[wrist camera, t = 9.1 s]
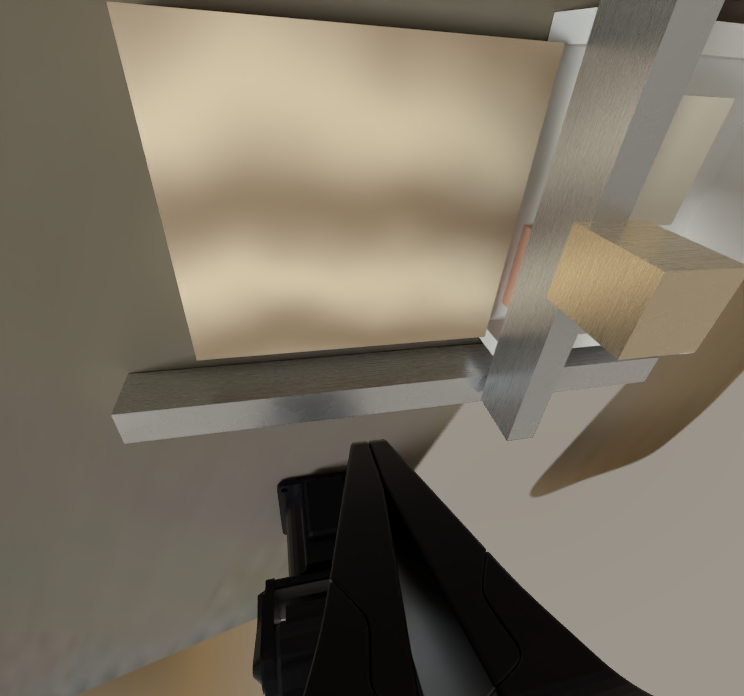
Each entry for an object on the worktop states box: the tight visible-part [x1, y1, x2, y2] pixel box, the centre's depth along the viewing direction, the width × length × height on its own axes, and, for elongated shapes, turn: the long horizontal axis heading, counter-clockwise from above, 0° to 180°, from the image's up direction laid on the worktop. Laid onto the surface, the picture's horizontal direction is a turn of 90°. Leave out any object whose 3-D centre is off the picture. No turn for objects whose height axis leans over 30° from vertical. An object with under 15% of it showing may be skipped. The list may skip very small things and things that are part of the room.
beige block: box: [629, 93, 735, 225], centre depth 17 cm, size 4×4×3 cm
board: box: [107, 2, 565, 360], centre depth 18 cm, size 13×15×2 cm
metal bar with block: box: [481, 0, 744, 441], centre depth 15 cm, size 20×3×7 cm, turn 176°
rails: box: [111, 0, 744, 444], centre depth 18 cm, size 21×31×3 cm
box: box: [479, 7, 744, 356], centre depth 20 cm, size 15×12×4 cm
